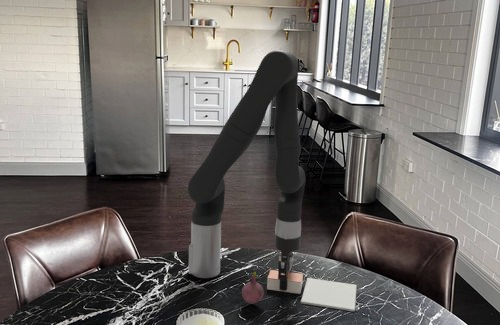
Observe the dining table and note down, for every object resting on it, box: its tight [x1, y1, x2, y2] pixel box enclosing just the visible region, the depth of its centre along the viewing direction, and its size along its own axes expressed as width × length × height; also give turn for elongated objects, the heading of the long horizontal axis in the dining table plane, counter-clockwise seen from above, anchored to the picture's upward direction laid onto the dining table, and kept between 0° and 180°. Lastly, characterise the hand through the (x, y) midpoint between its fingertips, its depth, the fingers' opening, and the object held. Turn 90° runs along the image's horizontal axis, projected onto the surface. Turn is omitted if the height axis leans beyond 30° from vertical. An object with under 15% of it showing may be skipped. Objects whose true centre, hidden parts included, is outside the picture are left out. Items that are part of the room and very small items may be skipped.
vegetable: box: [241, 271, 265, 305], centre depth 133 cm, size 6×6×10 cm
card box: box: [266, 269, 304, 295], centre depth 144 cm, size 10×6×4 cm, turn 78°
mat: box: [300, 277, 358, 312], centre depth 141 cm, size 15×15×1 cm
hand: (284, 284), depth 145 cm, fingers open, 5 cm apart
